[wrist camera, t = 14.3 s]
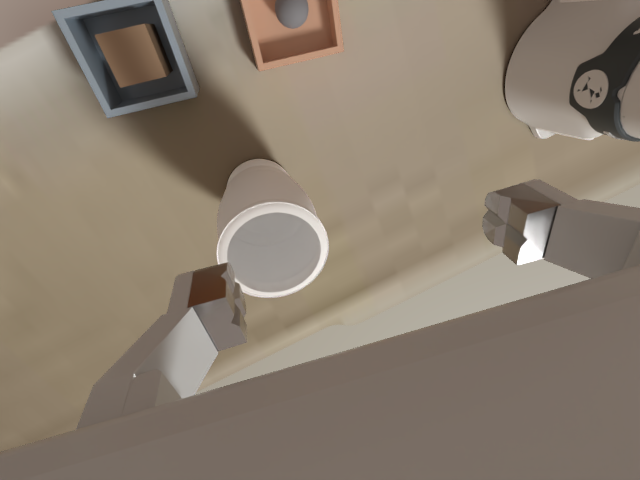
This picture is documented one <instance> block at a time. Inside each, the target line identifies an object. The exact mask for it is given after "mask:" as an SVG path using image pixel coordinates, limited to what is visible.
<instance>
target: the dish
mask: <svg viewBox="0 0 640 480" xmlns="http://www.w3.org/2000/svg"><path fill="white" fill-rule="evenodd" d="M239 1H240V5H241V8H242V12H243V16H244V20H245V24H246V28H247V32H248V36H249V40H250V43H251V47H252V51H253V55H254V59H255V63H256V67H257V69H258V71H263V70H268V69H272V68H276V67H280V66H285V65H289V64H293V63H297V62H302V61H306V60H310V59H314V58H319V57H323V56H327V55H331V54H336V53H340V52H344V47H343V39H342V31H341V23H340V14H339V6H338V0H307V2H308V7H309V11H308V16H307V19H306V21H305V22H304V24H303V25H301V26H300V27H298V28H294V29H291V28H287V27H285V26H284V25H282V24H281V23H280V22H279V20H278V18H277V16H276V13H275V2H276V0H239Z"/></svg>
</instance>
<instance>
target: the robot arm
mask: <svg viewBox="0 0 640 480" xmlns="http://www.w3.org/2000/svg"><path fill="white" fill-rule="evenodd" d="M505 96H506V101H507V104H508V107H509V109H510V111H511V112H512V114H513V115H514V116H515V117H516V118H517V119H519V120H520V121H522V122H524V123H526V124H527V125H529V127H530V129H531V131H532V133H533V135H534V136H535V137H536V138H541V139H546V138H548V137H550V136H552V135H554V134H561V135H565V136H570V137H574V138H579V139H584V140H592V139H594V138H595V137H598V136H601V135H603V134H605V135H607V136H609V137H612V138H616V139H620V140H629V141H640V0H552V1H551V3H550V4H549V6H548V7H547V8H546V9H545V10H544V11H543V12H542V13H541V14H540V15H539V16H538V17H537V18H536V19H535V20H534V21H533V22H532V24H531V25H530V26H529V27H528V28H527V30H526V31H525V32H524V34H523V35H522V37H521V39H520V40H519V42H518V44H517V46H516V47H515V50H514V52H513V54H512V56H511V59H510V62H509V65H508V69H507V73H506V79H505ZM485 206H486V207H487V209H488V211H487V213H486V214H485V215H484V217H483V230H484V233H485V235H486V237H487V239H488V240H489V241H490V242H491V243H492V244H494V245H497V246H500V247H503V253H504V254H505V255H506V256H507V257H508V258H509V259H511V260H512V261H513V262H514V263H515V264H516V265H520V264H524V263H528V262H531V261H535V260H539V259H544V260H546V261H548V262H551V263H553V264H556V265H559V266H561V267H563V268H566V269H568V270H571V271H573V272H576V273H578V274H581V275H584V276H586V277H589V278H591V279H589V280H586V281H582V282H579V283H576V284H572V285H568V286H565V287H562V288H558V289H555V290H551V291H548V292H544V293H541V294H538V295H534V296H531V297H527V298H524V299H521V300H517V301H514V302H510V303H506V304H503V305H500V306H496V307H493V308H490V309H486V310H483V311H479V312H476V313H472V314H469V315H465V316H462V317H459V318H456V319H452V320H448V321H445V322H442V323H439V324H435V325H431V326H428V327H425V328H421V329H418V330H414V331H411V332H408V333H404V334H401V335H397V336H394V337H391V338H387V339H384V340H380V341H377V342H374V343H370V344H367V345H363V346H360V347H357V348H353V349H350V350H346V351H343V352H340V353H336V354H333V355H329V356H326V357H323V358H319V359H316V360H312V361H309V362H305V363H302V364H299V365H295V366H292V367H288V368H285V369H282V370H278V371H275V372H271V373H268V374H265V375H261V376H258V377H254V378H251V379H247V380H244V381H241V382H237V383H234V384H230V385H227V386H224V387H220V388H217V389H213V390H210V391H207V392H203V393H200V394H197V395H195V393H196V391H197V389H198V388H199V386H200V384H201V382H202V381H203V379H204V377H205V375H206V374H207V372H208V370H209V368H210V367H211V365H212V363H213V361H214V360H215V358H216V356H217V354H218V351H221V350H224V349H227V348H230V347H234V346H237V345H240V344H243V343H246V342H247V325H246V322H245V320H244V318H243V317H244V316H245V314H246V304H245V299H244V295H243V292H242V289H241V287H240V284H239V283H237V282H235V272H234V270H233V268H232V266H231V264H230V263H229V262H227V263H223V264H219V265H214V266H210V267H206V268H202V269H198V270H195V271H190V272H187V273H183V274H179V275H178V276H176V278H175V282H174V286H173V290H172V294H171V298H170V303H169V307H168V311H167V314H165V315H161V316H160V317H159V319H158V320H157V321H156V322H155V323H154V324H153V325H152V326H151V327H150V328H149V329H148V330H147V331H146V332H145V333H144V334H143V335H142V336H141V337H140V338H139V339H138V340H137V341H136V342H135V343H134V344H133V345H132V346H131V347H130V348H129V349H128V350H127V351H126V352H125V354H124V355H123V356H122V357H121V358H120V359H119V360H118V361H117V362H116V363H115V364H114V365H113V366H112V367H111V368H110V369H109V370H108V371H107V372H106V373H105V374H104V375H103V376H102V377H101V378H100V379H99V380H98V381H97V382H96V383H95V384H94V385H93V388H92V390H91V393H90V395H89V398H88V400H87V403H86V405H85V408H84V411H83V413H82V416H81V418H80V421H79V423H78V426H77V428H76V430H73V431H70V432H66V433H63V434H59V435H56V436H53V437H49V438H46V439H42V440H39V441H35V442H32V443H29V444H25V445H22V446H18V447H15V448H12V449H8V450H5V451H1V452H0V480H640V208H636V207H629V206H623V205H617V204H610V203H604V202H598V201H592V200H586V199H583V200H577V199H575V198H573V197H572V196H570V195H568V194H566V193H564V192H562V191H560V190H558V189H556V188H554V187H553V186H551V185H549V184H547V183H545V182H543V181H541V180H537V179H533V180H530V181H527V182H523V183H520V184H518V185H514V186H511V187H507V188H504V189H500V190H497V191H493V192H490V193H488V194H487V196H486V199H485Z"/></svg>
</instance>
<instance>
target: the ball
mask: <svg viewBox="0 0 640 480" xmlns="http://www.w3.org/2000/svg"><path fill="white" fill-rule="evenodd" d="M308 11H309V7H308V2H307V0H276V2H275V13H276V16H277V18H278V20H279V22H280V23H281V24H282V25H284V26H285V27H287V28H291V29H294V28H298V27H300V26H301V25H303V24H304V22H305V21H306V19H307V16H308Z"/></svg>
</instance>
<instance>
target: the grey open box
mask: <svg viewBox="0 0 640 480" xmlns="http://www.w3.org/2000/svg"><path fill="white" fill-rule="evenodd" d="M52 13H53V15H54V17H55V19H56V21H57V23H58V25H59V27H60V29H61V31H62V32H63V34H64V36H65V38H66V40H67V42H68V44H69V46H70V48H71V50H72V51H73V53H74V55H75V57H76V59H77V61H78V63H79V65H80V67H81V69H82V71H83V72H84V74H85V76H86V78H87V80H88V82H89V84H90V86H91V88H92V90H93V92H94V93H95V95H96V97H97V99H98V101H99V103H100V105H101V107H102V109H103V111H104V112H105V114H106V116H107V118H111V117H115V116H119V115H123V114H127V113H132V112H136V111H140V110H144V109H148V108H153V107H157V106H161V105H165V104H169V103H174V102H178V101H182V100H186V99H190V98H195V97H197V95H198V92H199V90H200V88H199V86H198V83H197V80H196V77H195V74H194V71H193V69H192V66H191V63H190V60H189V57H188V55H187V52H186V49H185V46H184V43H183V41H182V38H181V35H180V32H179V29H178V26H177V24H176V21H175V18H174V15H173V12H172V10H171V7H170V4H169V1H168V0H104V1H99V2H94V3H89V4H84V5H79V6H74V7H69V8H64V9H59V10H54V11H52ZM140 24H155V27H156V29H157V32H158V34H159V37H160V39H161V42H162V44H163V47H164V49H165V52H166V54H167V57H168V59H169V62H170V64H171V67H172V69H173V71H172V72H171V73H170V74H169V75H168V76H166V77H163V78H159V79H155V80H151V81H146V82H142V83H138V84H134V85H130V86H126V87H122V88H120V86H119V84H118V82H117V80H116V78H115V76H114V74H113V72H112V70H111V68H110V66H109V64H108V62H107V60H106V58H105V56H104V54H103V52H102V50H101V48H100V46H99V44H98V42H97V40H96V37H95V35H96V34H101V33H105V32H110V31H114V30H118V29H123V28H127V27H131V26H136V25H140Z"/></svg>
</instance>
